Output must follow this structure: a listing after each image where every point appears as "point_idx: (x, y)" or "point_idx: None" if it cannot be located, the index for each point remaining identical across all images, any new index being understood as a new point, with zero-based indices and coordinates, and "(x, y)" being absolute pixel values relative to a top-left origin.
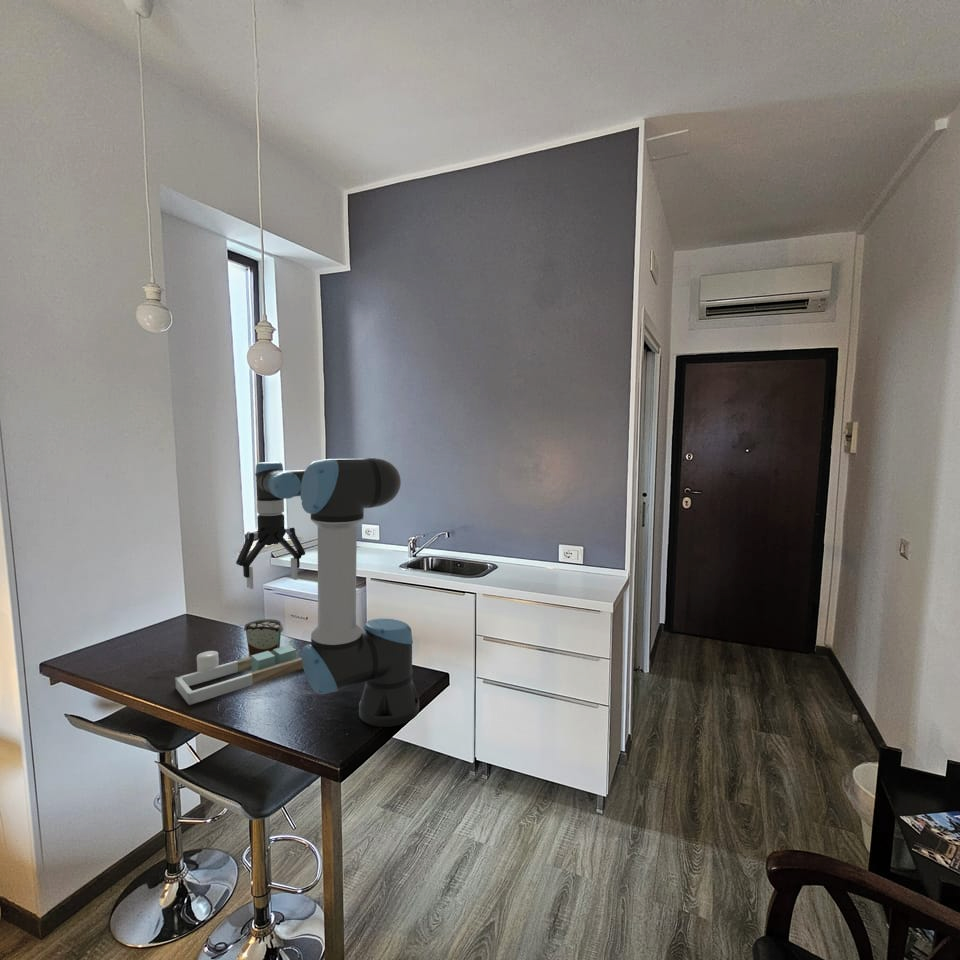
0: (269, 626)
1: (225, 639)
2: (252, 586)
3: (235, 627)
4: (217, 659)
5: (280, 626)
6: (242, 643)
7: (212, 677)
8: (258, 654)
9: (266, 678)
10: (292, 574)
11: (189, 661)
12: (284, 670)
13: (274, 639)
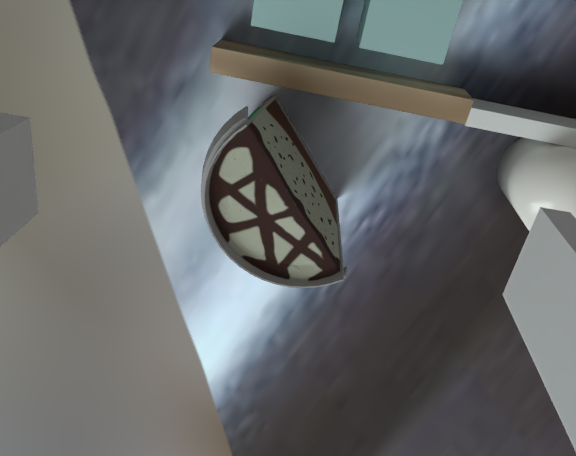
0: (265, 188)
1: (303, 374)
2: (560, 219)
3: (225, 427)
4: (540, 162)
5: (235, 130)
6: (286, 307)
7: (565, 118)
8: (416, 46)
9: None
10: (6, 201)
11: (488, 316)
12: None
13: (271, 128)
